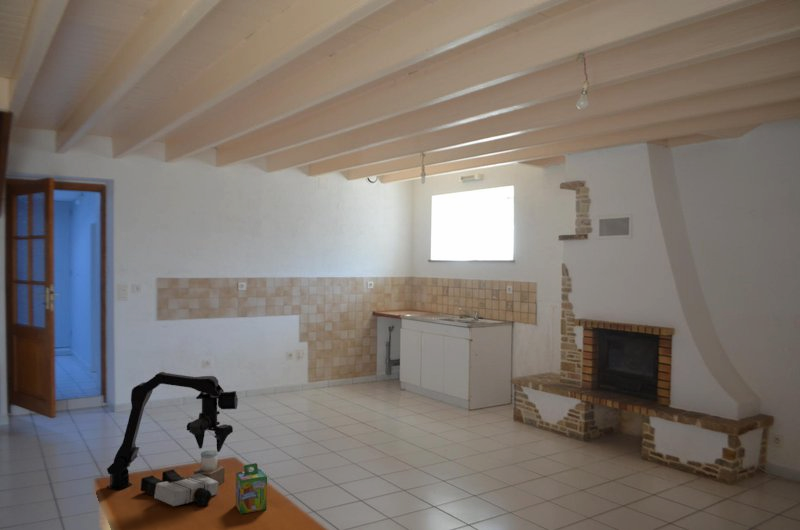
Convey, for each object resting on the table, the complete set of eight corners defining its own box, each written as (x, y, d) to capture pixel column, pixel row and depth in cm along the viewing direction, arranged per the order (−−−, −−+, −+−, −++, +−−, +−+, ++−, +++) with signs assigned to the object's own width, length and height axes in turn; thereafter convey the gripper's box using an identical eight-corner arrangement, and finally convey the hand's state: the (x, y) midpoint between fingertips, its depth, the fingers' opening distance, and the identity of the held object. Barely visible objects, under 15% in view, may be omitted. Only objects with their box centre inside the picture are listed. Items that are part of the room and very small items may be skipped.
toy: (132, 494, 212) (182, 516, 195) (134, 475, 212) (184, 495, 195) (179, 482, 228) (228, 501, 211) (180, 464, 228) (230, 481, 211)
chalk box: (240, 515, 196) (240, 471, 196) (234, 505, 204) (235, 463, 204) (267, 509, 200) (267, 466, 200) (261, 500, 208) (261, 459, 208)
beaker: (196, 469, 222) (197, 454, 222) (209, 464, 228) (209, 449, 228) (208, 472, 219) (208, 457, 219) (221, 467, 225) (221, 452, 225)
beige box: (193, 486, 221) (193, 471, 221) (207, 479, 229) (207, 464, 229) (210, 489, 218) (210, 473, 218) (224, 482, 226) (224, 466, 226)
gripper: (175, 411, 221) (175, 452, 221) (212, 417, 213) (212, 459, 213) (197, 405, 231) (197, 444, 231) (233, 410, 223) (233, 451, 223)
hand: (209, 450), depth 224 cm, fingers open, 9 cm apart
